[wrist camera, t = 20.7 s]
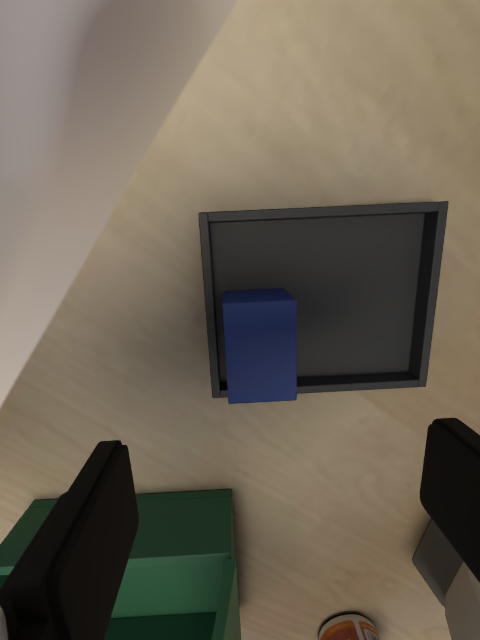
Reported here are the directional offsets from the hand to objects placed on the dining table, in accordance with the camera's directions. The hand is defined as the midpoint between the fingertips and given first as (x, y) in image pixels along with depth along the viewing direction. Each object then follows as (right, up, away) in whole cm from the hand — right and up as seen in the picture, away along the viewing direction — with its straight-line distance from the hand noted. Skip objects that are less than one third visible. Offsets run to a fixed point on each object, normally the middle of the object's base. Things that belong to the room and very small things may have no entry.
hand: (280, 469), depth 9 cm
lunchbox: (-10, -18, +20) cm, 29 cm away
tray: (+4, +6, +14) cm, 16 cm away
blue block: (0, +4, +14) cm, 14 cm away
